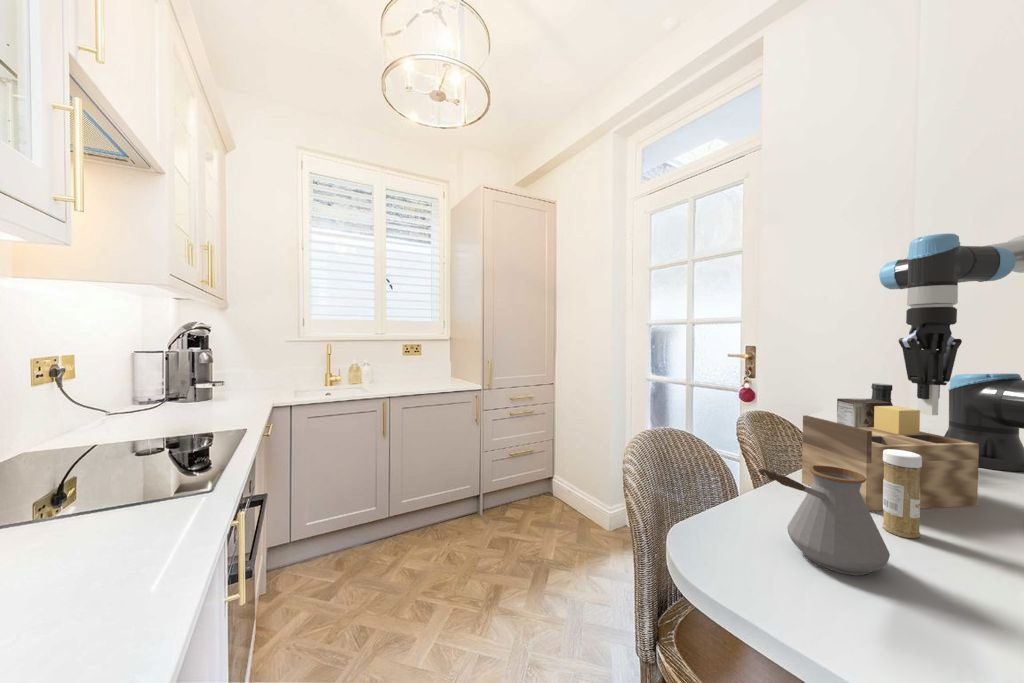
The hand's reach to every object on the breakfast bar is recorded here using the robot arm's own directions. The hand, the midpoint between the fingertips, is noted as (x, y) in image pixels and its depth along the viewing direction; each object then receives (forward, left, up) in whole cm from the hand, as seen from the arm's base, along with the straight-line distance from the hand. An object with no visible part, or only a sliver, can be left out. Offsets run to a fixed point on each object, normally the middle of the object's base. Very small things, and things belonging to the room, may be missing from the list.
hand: (927, 413), depth 85 cm
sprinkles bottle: (+29, +18, -16) cm, 37 cm away
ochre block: (+8, 0, -4) cm, 9 cm away
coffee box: (-1, -15, -16) cm, 22 cm away
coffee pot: (+52, +25, -16) cm, 60 cm away
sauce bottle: (-9, -18, -16) cm, 26 cm away
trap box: (+15, +4, -16) cm, 22 cm away
